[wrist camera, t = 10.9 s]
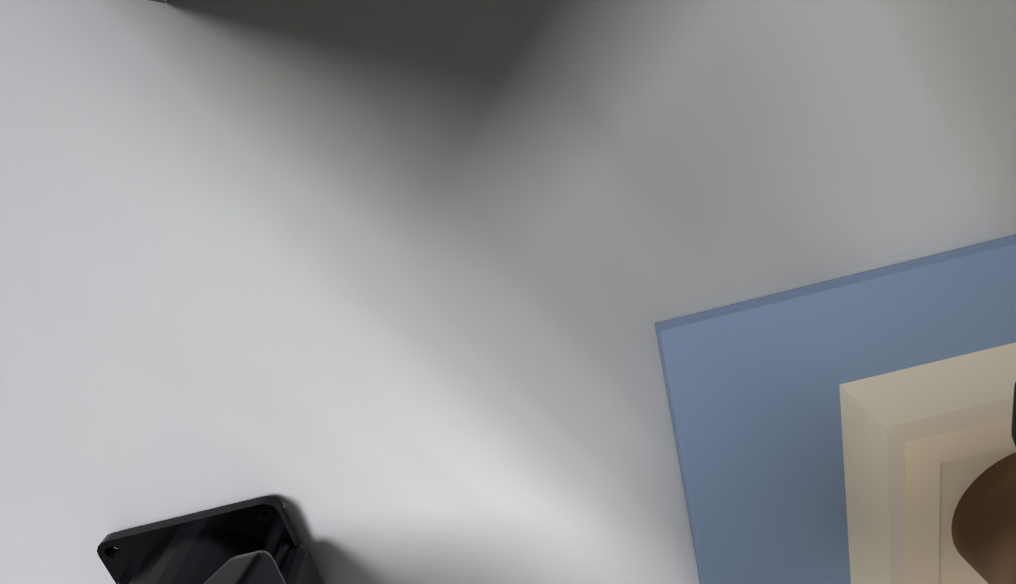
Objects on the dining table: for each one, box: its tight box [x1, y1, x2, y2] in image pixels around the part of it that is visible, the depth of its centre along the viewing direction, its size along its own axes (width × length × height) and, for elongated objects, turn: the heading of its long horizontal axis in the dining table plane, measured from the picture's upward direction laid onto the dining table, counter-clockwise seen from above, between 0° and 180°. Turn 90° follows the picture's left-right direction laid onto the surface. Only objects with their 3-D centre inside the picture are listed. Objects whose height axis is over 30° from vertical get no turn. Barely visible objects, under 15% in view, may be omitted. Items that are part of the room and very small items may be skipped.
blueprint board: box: [655, 235, 1016, 584], centre depth 20 cm, size 20×16×4 cm
